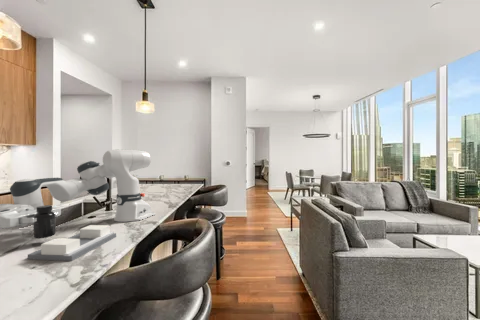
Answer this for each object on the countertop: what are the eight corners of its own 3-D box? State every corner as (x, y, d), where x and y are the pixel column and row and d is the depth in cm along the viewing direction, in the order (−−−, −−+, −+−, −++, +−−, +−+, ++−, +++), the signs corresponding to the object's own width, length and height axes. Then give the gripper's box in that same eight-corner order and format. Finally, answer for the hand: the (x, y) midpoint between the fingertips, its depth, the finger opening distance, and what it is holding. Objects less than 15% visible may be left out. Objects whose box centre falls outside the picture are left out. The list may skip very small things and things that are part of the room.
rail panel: (81, 235, 103) (81, 224, 103) (116, 236, 102) (116, 225, 102) (27, 259, 79) (27, 244, 79) (71, 260, 78) (71, 245, 78)
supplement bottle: (50, 232, 99) (50, 204, 99) (59, 234, 96) (59, 205, 96) (29, 237, 93) (29, 207, 93) (38, 240, 90) (38, 208, 90)
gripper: (47, 217, 108) (71, 218, 104) (-10, 230, 88) (16, 233, 84) (47, 203, 108) (70, 204, 104) (-10, 213, 88) (16, 215, 84)
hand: (46, 217), depth 94 cm, fingers closed on supplement bottle, 7 cm apart
